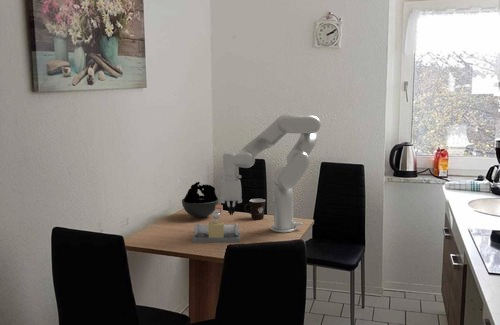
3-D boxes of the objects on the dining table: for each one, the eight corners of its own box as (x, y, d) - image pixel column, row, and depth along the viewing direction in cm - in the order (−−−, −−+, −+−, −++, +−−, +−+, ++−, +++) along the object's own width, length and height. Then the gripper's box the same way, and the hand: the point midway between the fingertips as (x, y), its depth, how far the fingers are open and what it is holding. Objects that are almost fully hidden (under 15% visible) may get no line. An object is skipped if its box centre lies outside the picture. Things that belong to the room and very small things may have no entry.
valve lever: (222, 209, 268) (222, 204, 268) (219, 218, 251) (219, 213, 250) (216, 209, 268) (216, 204, 268) (212, 218, 251) (212, 213, 251)
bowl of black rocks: (213, 222, 283) (212, 187, 281) (177, 221, 287) (176, 186, 285) (222, 213, 303) (221, 181, 300) (188, 212, 307) (187, 180, 304)
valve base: (240, 235, 259) (240, 215, 257) (239, 241, 249) (239, 220, 247) (195, 235, 259) (194, 215, 258) (192, 242, 249) (191, 220, 248)
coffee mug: (265, 216, 295) (264, 198, 294) (266, 220, 287) (265, 202, 285) (243, 216, 295) (243, 199, 294) (244, 220, 286) (244, 202, 285)
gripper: (246, 176, 264) (246, 212, 267) (216, 176, 264) (216, 212, 267) (246, 178, 257) (246, 216, 259) (215, 179, 257) (215, 216, 260)
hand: (231, 214), depth 263 cm, fingers closed
